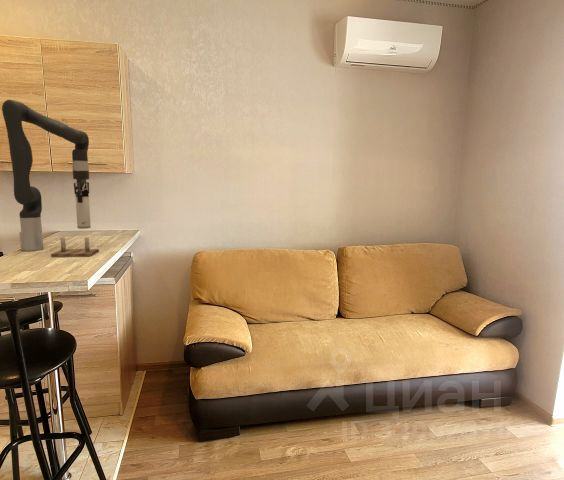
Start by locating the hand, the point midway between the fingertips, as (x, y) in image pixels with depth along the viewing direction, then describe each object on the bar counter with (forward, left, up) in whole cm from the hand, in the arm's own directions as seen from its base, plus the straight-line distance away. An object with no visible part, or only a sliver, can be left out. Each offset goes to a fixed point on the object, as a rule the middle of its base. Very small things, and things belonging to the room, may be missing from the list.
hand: (82, 202), depth 197 cm
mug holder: (0, -13, -25) cm, 28 cm away
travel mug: (0, 0, -14) cm, 14 cm away
